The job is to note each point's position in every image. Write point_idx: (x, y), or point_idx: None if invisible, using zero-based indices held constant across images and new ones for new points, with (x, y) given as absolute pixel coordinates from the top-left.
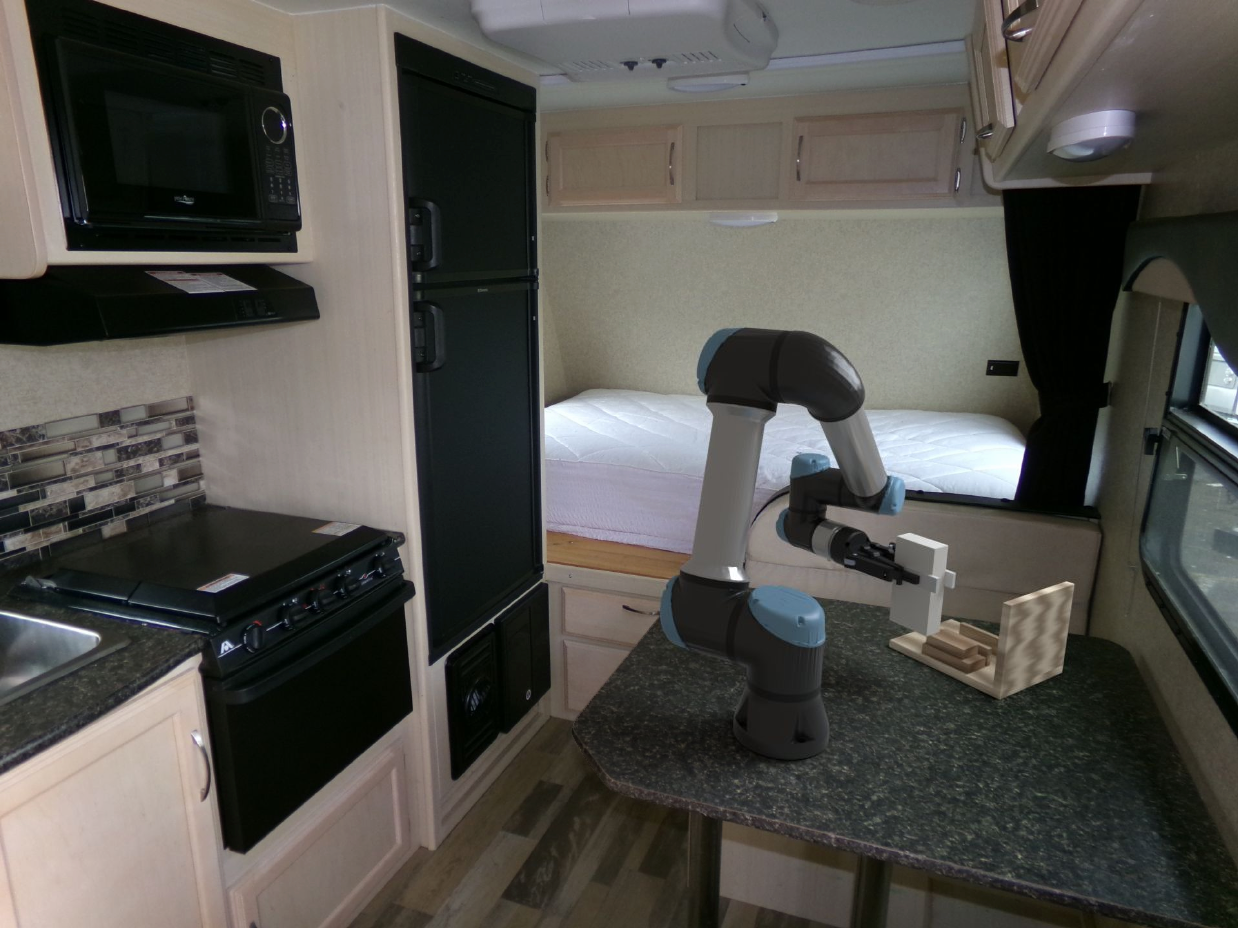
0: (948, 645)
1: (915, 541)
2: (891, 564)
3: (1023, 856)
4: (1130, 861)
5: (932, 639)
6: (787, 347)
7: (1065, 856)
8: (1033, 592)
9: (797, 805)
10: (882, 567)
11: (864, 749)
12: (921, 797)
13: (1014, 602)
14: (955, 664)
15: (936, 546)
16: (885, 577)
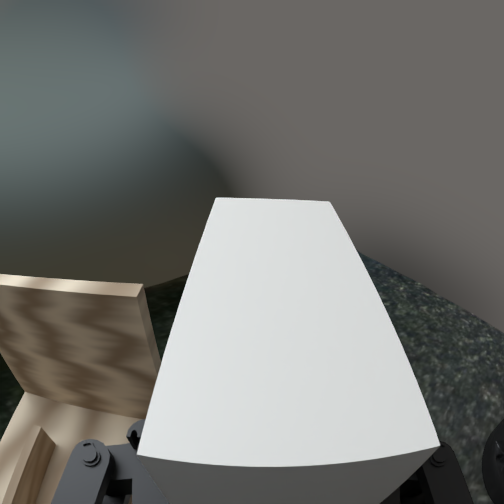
0: (131, 500)
1: (352, 277)
2: (398, 498)
3: (399, 287)
4: None
5: None
6: None
7: (371, 278)
8: (36, 288)
9: None
10: (462, 484)
11: (455, 417)
12: (437, 345)
13: (117, 287)
14: None
15: (291, 207)
16: (422, 494)
